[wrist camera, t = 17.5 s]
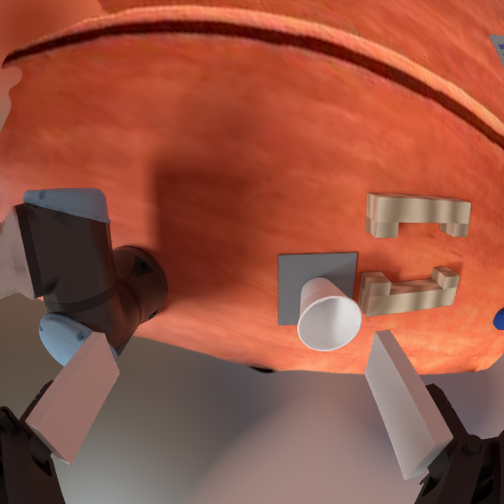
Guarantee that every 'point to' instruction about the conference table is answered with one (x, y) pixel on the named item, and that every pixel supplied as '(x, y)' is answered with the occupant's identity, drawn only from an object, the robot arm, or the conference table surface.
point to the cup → (327, 316)
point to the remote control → (498, 45)
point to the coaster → (306, 268)
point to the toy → (499, 320)
